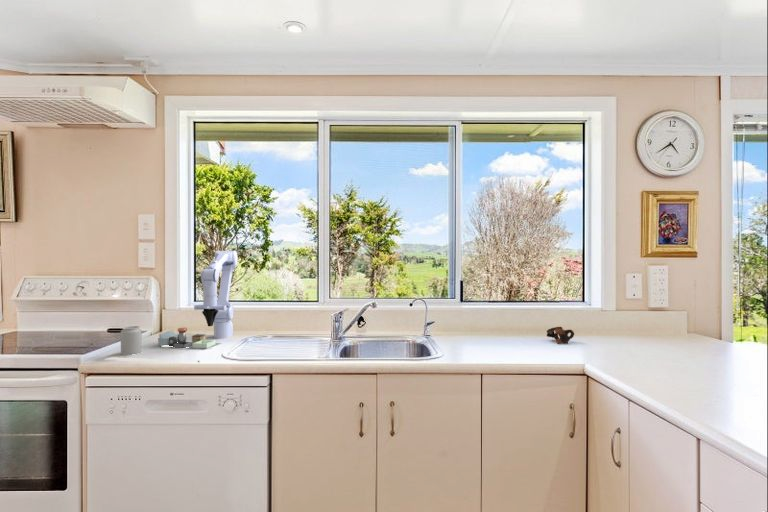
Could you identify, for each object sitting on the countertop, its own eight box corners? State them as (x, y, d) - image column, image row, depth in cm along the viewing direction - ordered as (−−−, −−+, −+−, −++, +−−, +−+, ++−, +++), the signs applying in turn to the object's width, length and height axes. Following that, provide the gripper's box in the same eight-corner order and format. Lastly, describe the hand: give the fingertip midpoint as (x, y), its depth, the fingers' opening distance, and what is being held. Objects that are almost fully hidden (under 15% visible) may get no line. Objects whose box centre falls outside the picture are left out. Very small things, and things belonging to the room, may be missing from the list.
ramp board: (173, 344, 206) (173, 338, 206) (221, 345, 202) (221, 339, 202) (155, 350, 194) (155, 343, 194) (206, 352, 190) (206, 345, 190)
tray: (201, 344, 199) (201, 339, 199) (215, 345, 198) (215, 340, 198) (192, 348, 192) (192, 343, 192) (206, 348, 191) (206, 343, 191)
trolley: (173, 341, 205) (173, 330, 205) (188, 342, 204) (187, 330, 204) (158, 346, 195) (158, 334, 195) (173, 347, 194) (173, 335, 194)
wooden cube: (197, 342, 203) (197, 334, 203) (205, 342, 203) (205, 334, 203) (192, 344, 199) (192, 335, 199) (200, 344, 199) (200, 336, 199)
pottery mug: (551, 345, 203) (545, 328, 207) (549, 350, 211) (544, 334, 215) (578, 339, 201) (571, 322, 205) (575, 344, 209) (569, 328, 213)
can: (125, 359, 178) (125, 329, 178) (117, 356, 183) (117, 327, 183) (145, 355, 184) (144, 326, 184) (136, 353, 189) (136, 324, 189)
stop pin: (181, 345, 197) (180, 327, 197) (189, 345, 197) (188, 327, 197) (175, 347, 194) (175, 329, 194) (183, 347, 193) (183, 329, 193)
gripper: (190, 296, 197) (190, 327, 197) (220, 296, 195) (220, 327, 195) (199, 294, 204) (199, 324, 204) (228, 295, 202) (228, 325, 202)
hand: (210, 325), depth 200 cm, fingers closed
